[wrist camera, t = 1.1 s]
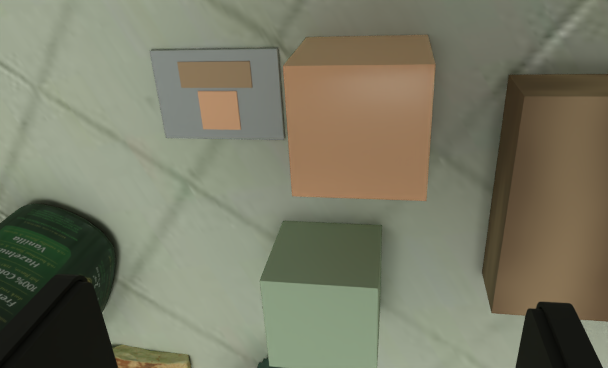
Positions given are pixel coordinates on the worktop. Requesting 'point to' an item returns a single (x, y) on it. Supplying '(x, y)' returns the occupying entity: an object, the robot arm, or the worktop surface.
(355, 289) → the sage cube
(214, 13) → the worktop surface
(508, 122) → the walnut block
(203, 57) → the card
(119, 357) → the shard
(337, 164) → the terracotta cube
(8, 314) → the coffee jar
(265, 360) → the can
